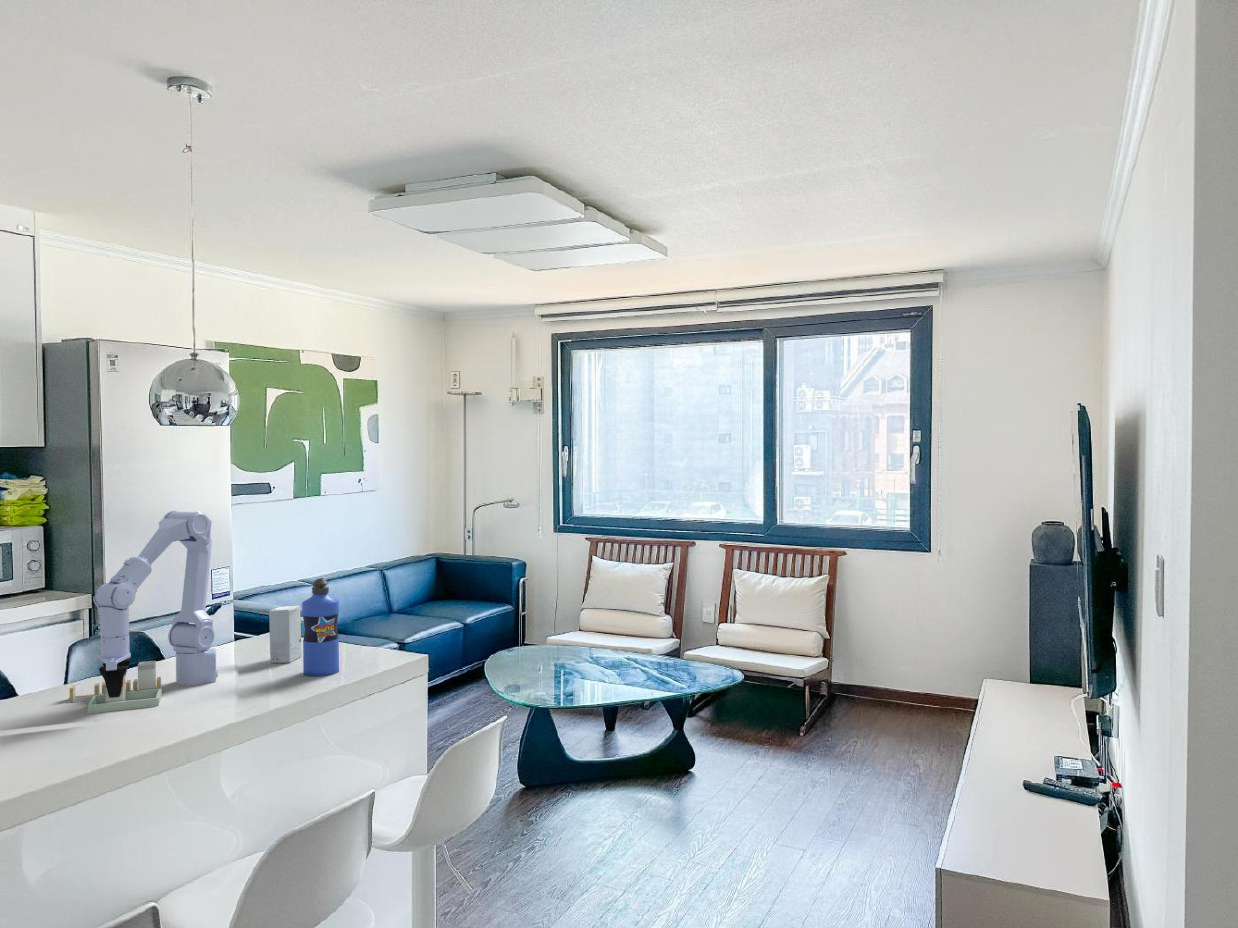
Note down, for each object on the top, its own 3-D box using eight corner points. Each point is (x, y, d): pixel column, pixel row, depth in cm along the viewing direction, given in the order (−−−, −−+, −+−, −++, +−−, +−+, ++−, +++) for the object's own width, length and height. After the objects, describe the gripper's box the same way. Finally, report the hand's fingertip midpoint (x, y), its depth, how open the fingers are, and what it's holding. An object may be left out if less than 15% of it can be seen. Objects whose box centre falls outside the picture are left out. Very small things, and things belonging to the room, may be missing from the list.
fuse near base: (156, 689, 214) (155, 660, 214) (154, 692, 211) (154, 663, 210) (139, 690, 212) (139, 662, 212) (138, 694, 209) (137, 665, 209)
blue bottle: (344, 673, 232) (343, 579, 231) (308, 678, 227) (307, 582, 226) (333, 666, 240) (332, 575, 239) (298, 671, 234) (297, 578, 234)
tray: (161, 699, 208) (161, 688, 208) (158, 709, 200) (158, 698, 200) (93, 706, 203) (93, 695, 203) (87, 717, 194) (87, 705, 194)
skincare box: (290, 663, 243) (289, 610, 243) (268, 663, 243) (268, 610, 243) (302, 656, 251) (301, 604, 251) (281, 656, 252) (281, 604, 251)
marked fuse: (125, 700, 203) (124, 670, 203) (123, 704, 200) (123, 674, 199) (107, 702, 201) (107, 672, 201) (105, 706, 198) (105, 675, 198)
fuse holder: (164, 691, 216) (164, 674, 216) (162, 697, 210) (162, 680, 210) (69, 700, 208) (69, 683, 208) (65, 707, 202) (65, 690, 202)
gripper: (99, 631, 205) (100, 688, 206) (89, 643, 192) (90, 705, 192) (133, 628, 208) (134, 685, 208) (126, 640, 195) (127, 701, 195)
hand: (115, 694), depth 201 cm, fingers closed on marked fuse, 3 cm apart
